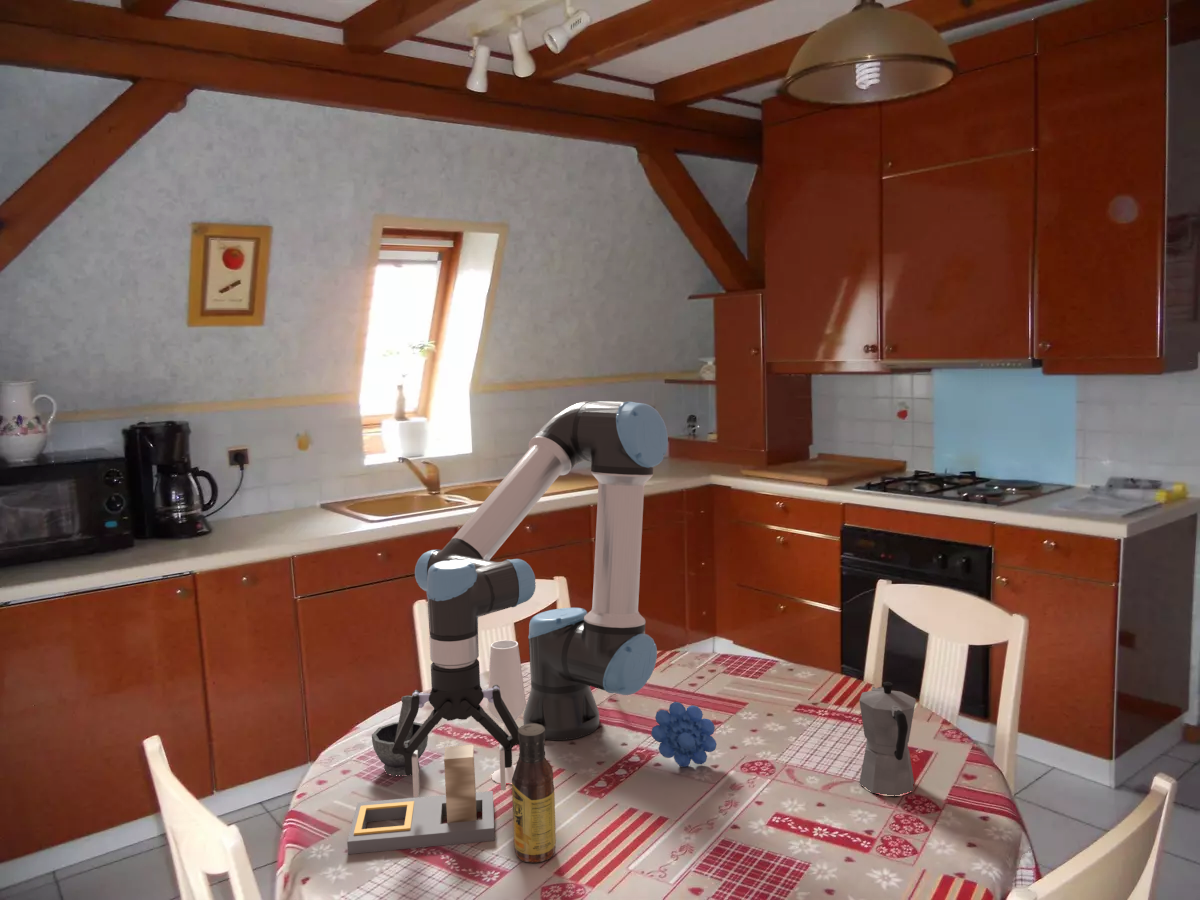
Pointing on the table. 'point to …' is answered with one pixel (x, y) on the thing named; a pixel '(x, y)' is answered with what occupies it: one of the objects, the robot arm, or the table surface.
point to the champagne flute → (506, 687)
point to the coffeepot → (887, 740)
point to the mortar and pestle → (387, 736)
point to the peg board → (417, 824)
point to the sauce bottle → (533, 798)
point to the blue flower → (684, 734)
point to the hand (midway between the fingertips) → (460, 790)
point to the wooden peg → (460, 783)
